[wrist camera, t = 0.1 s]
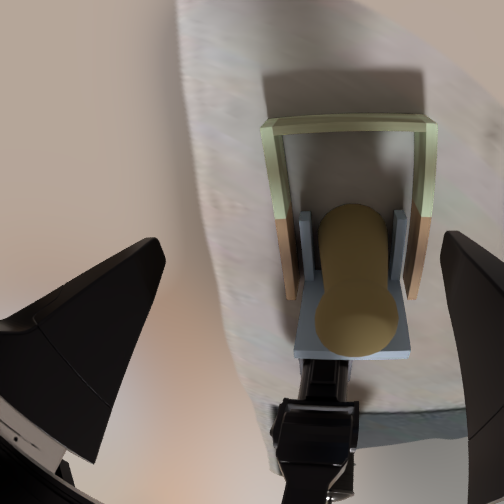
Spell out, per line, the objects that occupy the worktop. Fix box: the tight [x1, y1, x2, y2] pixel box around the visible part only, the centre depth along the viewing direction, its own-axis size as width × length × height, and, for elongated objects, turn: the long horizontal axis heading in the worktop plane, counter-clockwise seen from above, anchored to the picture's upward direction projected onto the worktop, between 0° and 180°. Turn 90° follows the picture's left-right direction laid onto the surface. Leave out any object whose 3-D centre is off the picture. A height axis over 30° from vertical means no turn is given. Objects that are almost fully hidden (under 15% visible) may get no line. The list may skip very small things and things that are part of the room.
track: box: [260, 113, 438, 300], centre depth 22 cm, size 15×11×3 cm
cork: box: [315, 204, 399, 357], centre depth 21 cm, size 6×6×11 cm
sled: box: [294, 210, 411, 360], centre depth 22 cm, size 7×8×9 cm
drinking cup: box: [326, 453, 354, 504], centre depth 39 cm, size 8×8×20 cm
